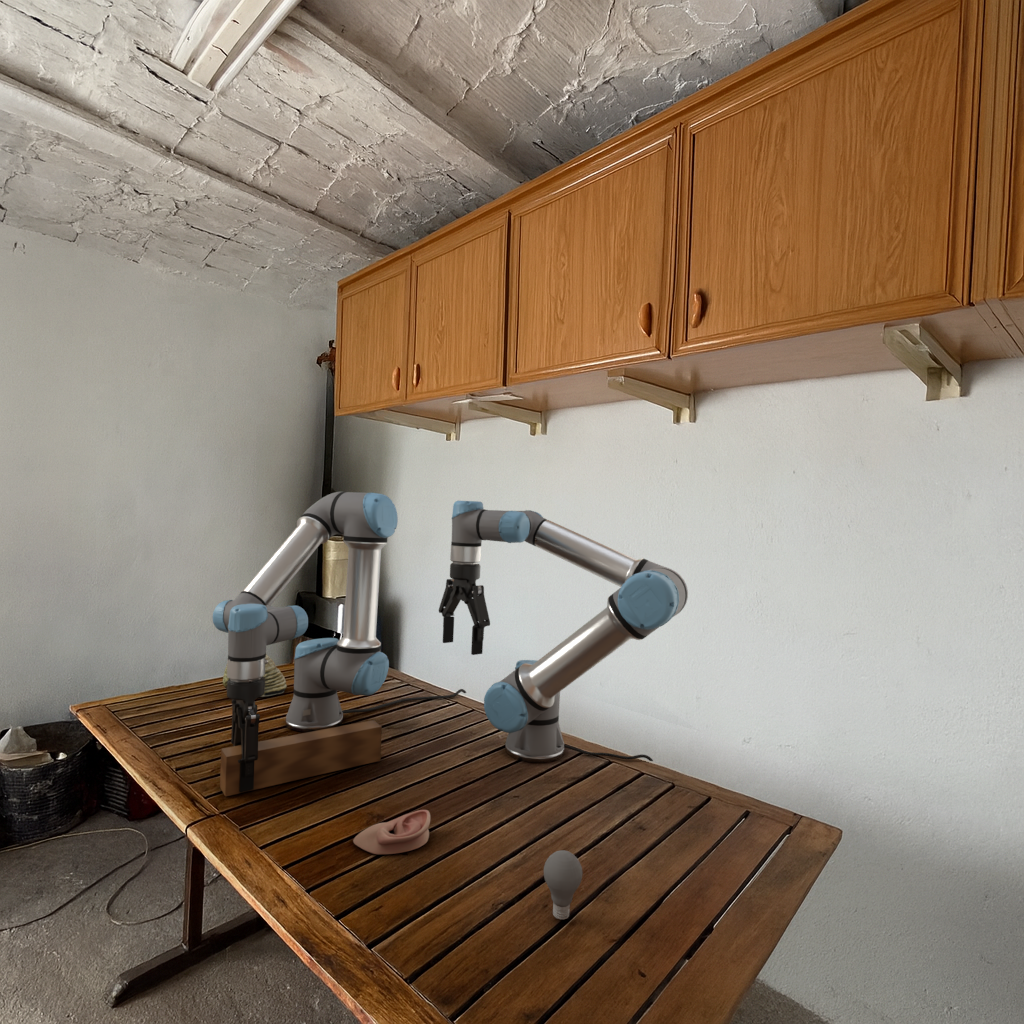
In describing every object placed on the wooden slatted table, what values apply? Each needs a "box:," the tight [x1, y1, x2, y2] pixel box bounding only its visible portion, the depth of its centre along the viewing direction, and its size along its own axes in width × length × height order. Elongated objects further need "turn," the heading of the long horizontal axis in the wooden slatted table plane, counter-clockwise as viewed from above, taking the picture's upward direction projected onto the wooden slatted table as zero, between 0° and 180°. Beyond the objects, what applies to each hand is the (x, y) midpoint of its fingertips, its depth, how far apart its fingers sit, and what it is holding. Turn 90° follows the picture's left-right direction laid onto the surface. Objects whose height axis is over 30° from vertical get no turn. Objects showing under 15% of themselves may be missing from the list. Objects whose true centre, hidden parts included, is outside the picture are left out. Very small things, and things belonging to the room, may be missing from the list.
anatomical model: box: [352, 809, 431, 856], centre depth 118 cm, size 13×4×12 cm
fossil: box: [222, 653, 288, 698], centre depth 198 cm, size 9×18×15 cm, turn 132°
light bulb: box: [543, 849, 583, 920], centre depth 98 cm, size 6×6×10 cm
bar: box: [219, 719, 383, 797], centre depth 144 cm, size 35×5×8 cm, turn 126°
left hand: (243, 784), depth 136 cm, fingers closed on bar, 5 cm apart
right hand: (461, 648), depth 157 cm, fingers open, 13 cm apart
